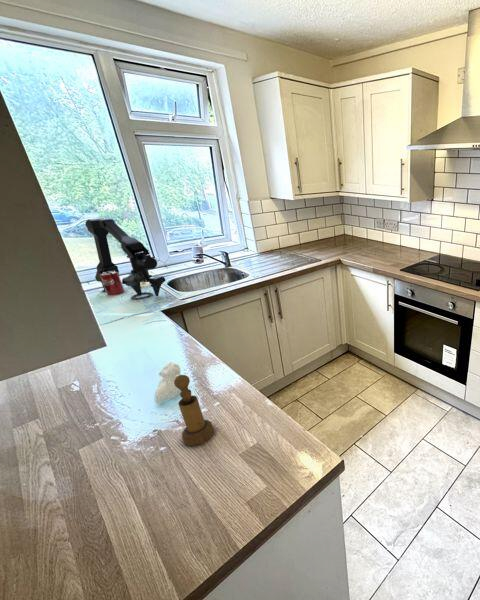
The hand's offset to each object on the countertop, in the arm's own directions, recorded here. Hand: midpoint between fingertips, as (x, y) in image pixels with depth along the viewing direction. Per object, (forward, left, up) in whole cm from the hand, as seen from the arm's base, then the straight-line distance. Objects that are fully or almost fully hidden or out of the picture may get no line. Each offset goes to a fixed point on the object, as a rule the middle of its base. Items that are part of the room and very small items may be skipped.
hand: (148, 295), depth 169 cm
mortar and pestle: (+85, -88, -1) cm, 123 cm away
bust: (+67, -73, -1) cm, 99 cm away
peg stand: (-18, +18, -1) cm, 25 cm away
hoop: (-4, 0, 0) cm, 4 cm away
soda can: (-22, +4, -1) cm, 22 cm away
